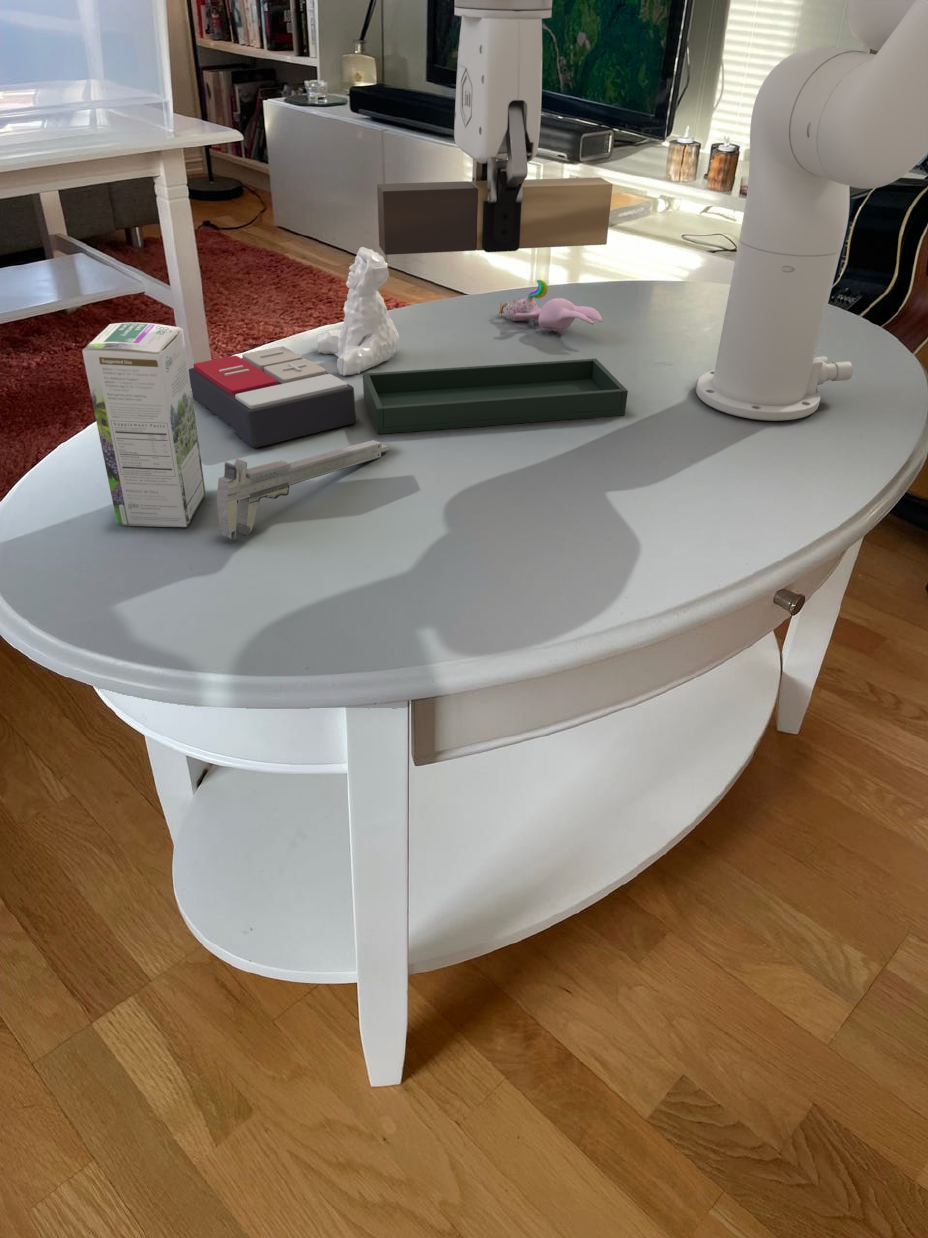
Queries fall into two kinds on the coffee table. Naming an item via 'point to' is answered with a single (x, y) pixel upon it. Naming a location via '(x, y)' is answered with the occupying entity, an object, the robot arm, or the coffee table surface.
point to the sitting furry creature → (363, 319)
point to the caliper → (278, 482)
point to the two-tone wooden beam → (456, 215)
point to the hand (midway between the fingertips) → (494, 242)
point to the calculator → (272, 395)
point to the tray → (491, 395)
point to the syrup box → (146, 423)
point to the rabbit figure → (548, 310)
